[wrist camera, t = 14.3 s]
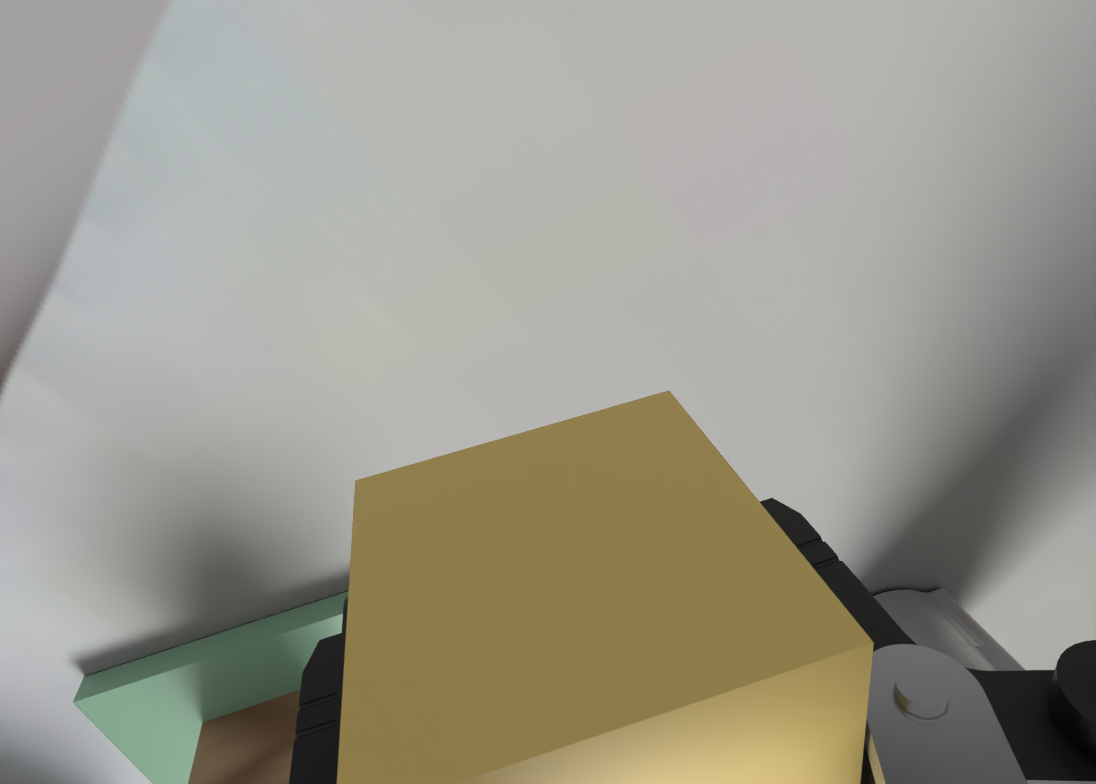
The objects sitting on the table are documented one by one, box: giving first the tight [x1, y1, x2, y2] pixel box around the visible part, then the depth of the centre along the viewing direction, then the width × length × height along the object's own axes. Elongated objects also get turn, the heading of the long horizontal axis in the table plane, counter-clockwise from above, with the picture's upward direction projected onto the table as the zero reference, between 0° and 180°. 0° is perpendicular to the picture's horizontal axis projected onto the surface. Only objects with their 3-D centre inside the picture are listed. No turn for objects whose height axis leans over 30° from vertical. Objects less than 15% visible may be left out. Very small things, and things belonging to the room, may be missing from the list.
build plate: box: [73, 591, 349, 784], centre depth 30 cm, size 12×12×1 cm
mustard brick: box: [337, 391, 874, 784], centre depth 9 cm, size 5×5×5 cm
